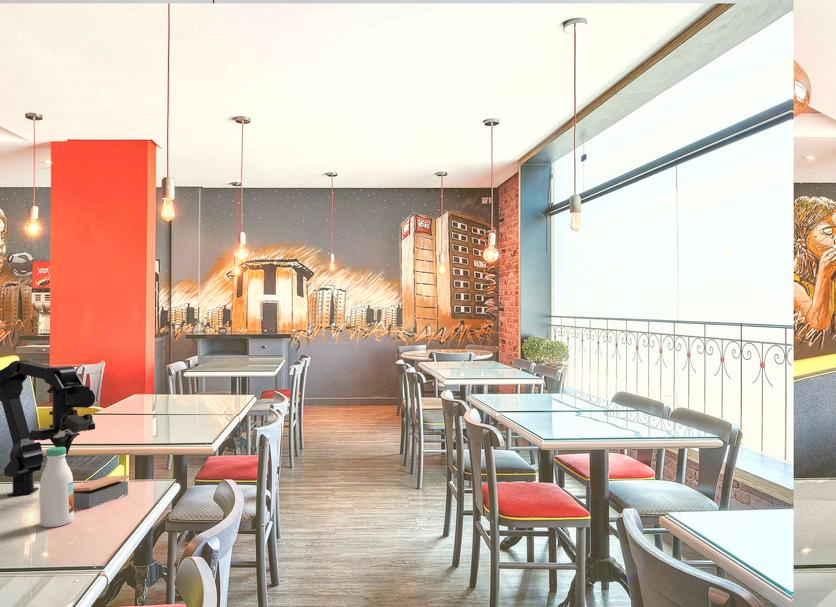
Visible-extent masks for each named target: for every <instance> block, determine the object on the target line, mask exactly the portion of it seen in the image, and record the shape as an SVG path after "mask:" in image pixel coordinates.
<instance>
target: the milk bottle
mask: <svg viewBox="0 0 836 607" xmlns="http://www.w3.org/2000/svg"><path fill="white" fill-rule="evenodd" d="M45 450H46V451H45V455H46V457H45V458H46V459H47V460H46V464H45V467H44V470H43V471H42V474H41V476H40V482H39V509H40V510H39V512H40V513H39V516H40V517H39V518H40V521H39V522H40V526H41V527H42V528H55V527H61V526H64V525H68V524H70V523H72V522H73V521H74V519H75V507H74V493H73V487H74V476H73V472H72V471H71V468H70V467H69V465H68V463H67V460H66V459H67V458H65V456H66V448H65V447H55V446H54V447H50V448H47V449H45Z"/></svg>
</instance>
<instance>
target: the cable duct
mask: <svg viewBox="0 0 836 607" xmlns="http://www.w3.org/2000/svg"><path fill="white" fill-rule="evenodd" d="M73 493H74V508H83V509H92V508H95V507H97V506H96V505H98V506H100V505H102V504H101V503H103V504H105V503H104V502H106V503H108V502H107V501H109V500H112V499H114V498H117V497H120V496H122V495H125V494H128V495H129V481H125V480H121V481H118V482H115V483H111V484H108V485H105V486H102V487H99V488H96V489H93V490H88V491H73ZM120 498H121V497H120ZM117 499H118V498H117ZM114 500H115V499H114ZM112 501H113V500H112ZM109 502H110V501H109ZM99 504H100V505H99ZM94 506H95V507H94Z"/></svg>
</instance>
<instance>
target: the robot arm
mask: <svg viewBox="0 0 836 607" xmlns="http://www.w3.org/2000/svg"><path fill="white" fill-rule="evenodd" d="M28 377H33V378H37V379H41V380H44V383H45V384H47V385H49V386H50V388H49V389H47V391H46V393H47V394H52V395H51V399H52V400H51V401H52V402H51V404H52V405H51V406H52V410H51V411H49V414H48V415H49V416H52V424H49V428H46V427H40V428H36V429H32V430H29V426H28V423H27V419H26V414H25V412H24V408H23V404H22V401H21V395H22V391H23V389H24V385H23V383H24V382H25V381H26V380H27V379H28ZM95 401H96V395H95V393H94V391H93V390H92V389H90V385H85V384H84V383H83V380H82V379H81V376H79V374H78V371H77V370H76V368H75V367H74V366H71V365H67V366H66V365H61V366H51V365H47V364H42V363H38V362H33V361H30V360H28V359H24V360H23V359H22V360H14V361H12V362H10V363H9V364H8V365H7V366H5V367H3V368H2V369H0V402H1V405H2V408H3V412H4V415H5V419H6V423H7V426H8V429H9V433H10V434H9V435H10V439H11V441H12V447H11V450H10V453H9V459H10V461H8V463H7V465H6V466H5V467H4V468H3V473H4V476H5V477H10V478H12V480H11V481H12V491H11V492H9V493H8V494H7V496H8V497H11V496H12V497H13V496H22V495H23V496H25V495H31V494H33V493H34V492H36V491H38V490H39V487H38V486H37V487H35V484H34V483H35V482H34V481H35V478H34V475H35V473H34V472H39V471H41V469H42V465H43V461H44V454H45V453H44V451H43V449H42V444H41V443H40V441H46V440H47V441H48V440H50V441H51V443H52V444H53V446H54V447H65V448H66V456H65V459H67V457H68V453H69V452H70V448H71V445H72V443H73V442H74V440H75V439H76V438H77V437H79V435H80V434H81V433H80V432H87V431H88V432H89V431H93V430H96V423H95V421H94V419H93V414H91V413H87V414H85V413H84V414H83V415H79V414H78V410H77V408H78V409H88V408H90V407H92V406H94V403H95ZM75 408H76V409H75ZM35 441H36V442H35Z"/></svg>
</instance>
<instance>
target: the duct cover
mask: <svg viewBox="0 0 836 607" xmlns="http://www.w3.org/2000/svg"><path fill="white" fill-rule="evenodd" d="M127 479H130V475H127V474H126V475H125V474H124V475H114V476H113V475H110V476H103V477H100V478H98V479H95V480H91V481H88V482H84V483H81V484H78V485H75V486H73V491H88V490H93V489H96V488H99V487H102V486H105V485H108V484H111V483H115V482H118V481H125V480H127Z"/></svg>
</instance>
